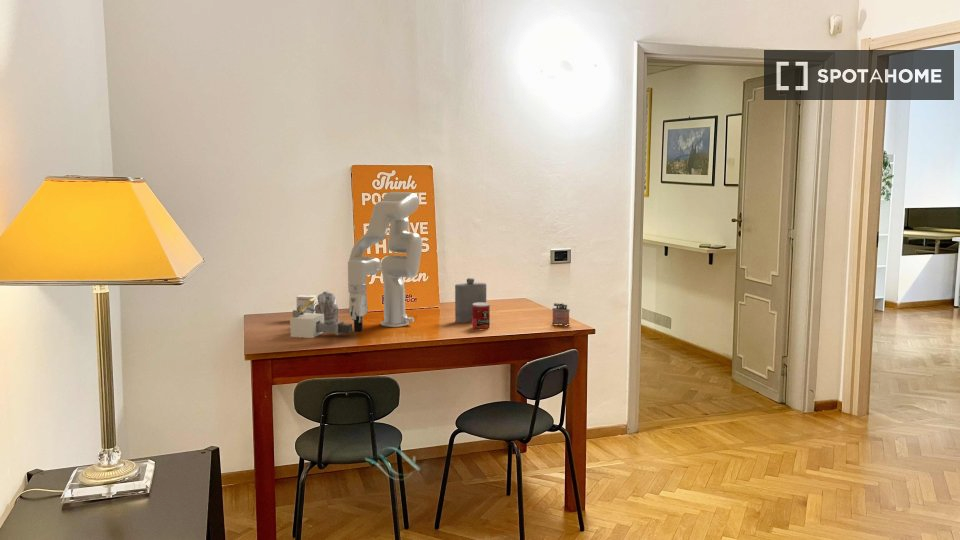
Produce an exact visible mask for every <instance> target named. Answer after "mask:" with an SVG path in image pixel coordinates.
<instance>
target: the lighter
mask: <svg viewBox="0 0 960 540" xmlns="http://www.w3.org/2000/svg"><path fill="white" fill-rule="evenodd" d="M551 310H552V322H551V325H552V324H562V325H567V324H569V325H570V311H571V310H570V308H568V304H566V303H565V304H564V303H562V302H561V303H558V302H557V303H556V302H554V303H553V307H552V308H551Z"/></svg>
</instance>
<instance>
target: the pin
mask: <svg viewBox="0 0 960 540" xmlns="http://www.w3.org/2000/svg"><path fill="white" fill-rule="evenodd" d="M316 332H323V333H332V334H335V336H340V335H341V334H351V333H352V332H353V323H344V320H341V321H338V323H322V322H316Z"/></svg>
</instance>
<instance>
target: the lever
mask: <svg viewBox="0 0 960 540" xmlns="http://www.w3.org/2000/svg"><path fill="white" fill-rule="evenodd" d="M314 301H315V299H314V298H312V299H310V300H308V301H307V302H306V303H305V304H304V305H303V306H302V307H301V308H300V309H299V310H298V315H300V314H302V312H303V311H304V310H305V309H306V308H307V307H308V306H310V305H311V304H312V303H313V302H314Z"/></svg>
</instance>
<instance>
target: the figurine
mask: <svg viewBox="0 0 960 540" xmlns="http://www.w3.org/2000/svg"><path fill="white" fill-rule="evenodd" d="M335 301H336V296H335V294H334V293H332V292H329V291H323V292H322V293H320V294H318V295H317V305H316V306H315V312H316V314H324V323H338V322H339V305H338V304H335Z"/></svg>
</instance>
